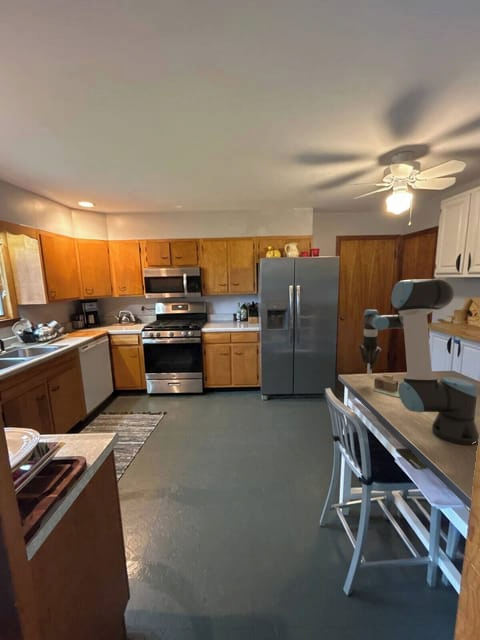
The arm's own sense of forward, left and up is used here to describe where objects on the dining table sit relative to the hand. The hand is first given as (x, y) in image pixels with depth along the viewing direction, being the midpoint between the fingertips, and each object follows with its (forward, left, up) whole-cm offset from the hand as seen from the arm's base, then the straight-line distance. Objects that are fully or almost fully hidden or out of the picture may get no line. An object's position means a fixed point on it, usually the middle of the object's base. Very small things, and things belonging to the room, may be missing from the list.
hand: (369, 373), depth 170 cm
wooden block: (0, -4, -4) cm, 6 cm away
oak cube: (+12, -6, -7) cm, 15 cm away
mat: (0, -13, -7) cm, 14 cm away
